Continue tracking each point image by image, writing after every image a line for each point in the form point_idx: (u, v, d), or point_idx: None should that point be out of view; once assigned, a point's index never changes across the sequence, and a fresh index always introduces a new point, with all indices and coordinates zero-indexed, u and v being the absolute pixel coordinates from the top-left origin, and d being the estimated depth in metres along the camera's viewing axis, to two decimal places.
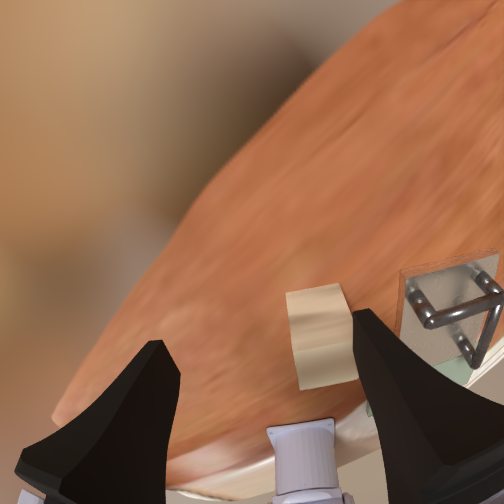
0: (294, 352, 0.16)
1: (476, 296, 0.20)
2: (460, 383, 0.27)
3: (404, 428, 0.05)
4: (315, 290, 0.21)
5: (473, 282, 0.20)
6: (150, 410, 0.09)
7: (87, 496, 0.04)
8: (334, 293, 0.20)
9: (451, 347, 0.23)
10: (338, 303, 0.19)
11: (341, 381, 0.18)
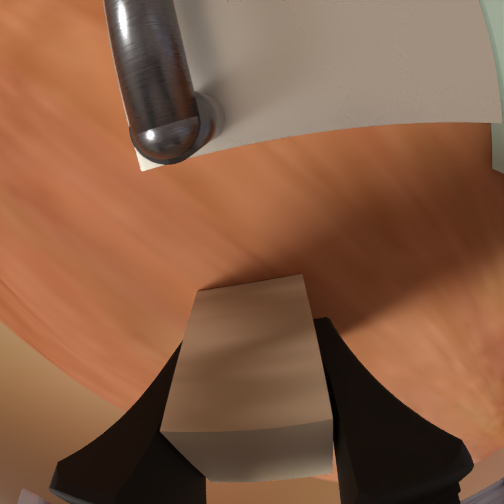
0: (212, 481, 0.08)
1: None
2: None
3: (341, 444, 0.05)
4: None
5: None
6: None
7: None
8: None
9: None
10: None
11: (326, 441, 0.06)
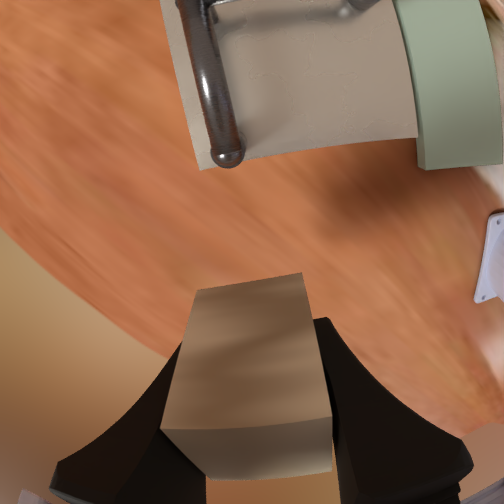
0: (212, 479, 0.08)
1: (243, 9, 0.11)
2: None
3: (341, 444, 0.05)
4: None
5: None
6: None
7: None
8: None
9: (366, 24, 0.11)
10: None
11: (326, 438, 0.06)
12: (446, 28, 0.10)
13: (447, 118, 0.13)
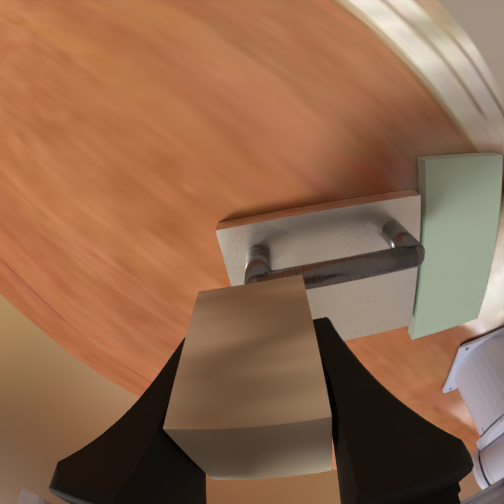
0: (213, 478, 0.08)
1: (293, 250, 0.17)
2: (494, 175, 0.14)
3: (342, 444, 0.05)
4: None
5: None
6: None
7: None
8: None
9: None
10: None
11: (325, 438, 0.06)
12: (460, 234, 0.16)
13: (437, 305, 0.19)
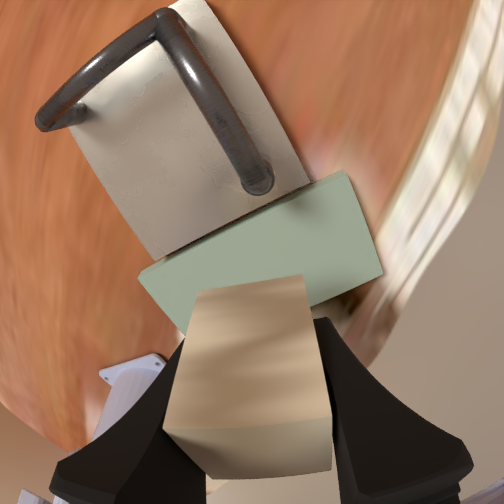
0: (213, 478, 0.08)
1: None
2: (360, 273, 0.18)
3: (341, 444, 0.05)
4: None
5: None
6: None
7: None
8: None
9: (231, 179, 0.15)
10: None
11: (325, 438, 0.06)
12: (284, 260, 0.17)
13: (191, 283, 0.18)
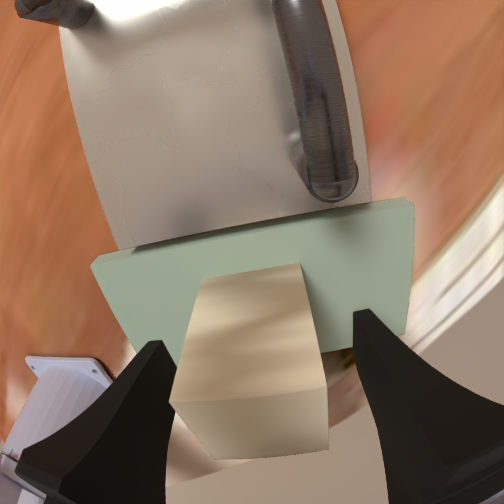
0: (215, 458, 0.09)
1: None
2: None
3: (404, 428, 0.05)
4: None
5: None
6: (150, 410, 0.09)
7: (87, 496, 0.04)
8: None
9: (267, 163, 0.10)
10: None
11: (322, 411, 0.07)
12: None
13: (161, 292, 0.12)
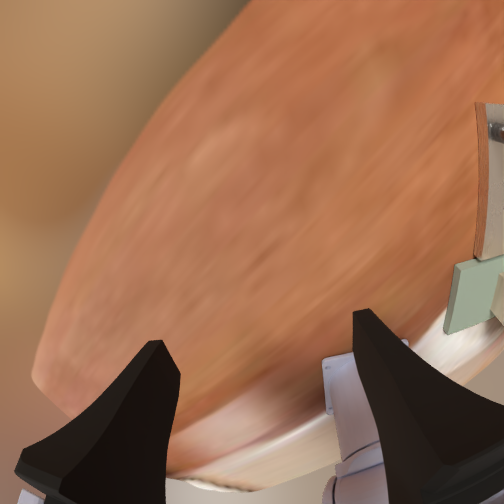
0: None
1: None
2: None
3: (404, 428, 0.05)
4: (497, 292, 0.19)
5: None
6: (150, 410, 0.09)
7: (87, 496, 0.04)
8: None
9: None
10: None
11: None
12: None
13: (483, 281, 0.19)
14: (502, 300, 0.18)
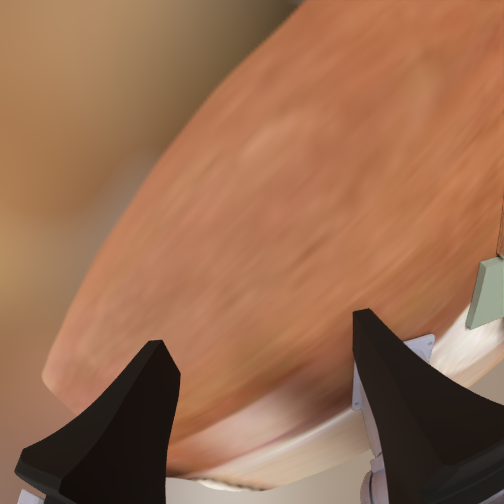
0: None
1: None
2: None
3: (404, 428, 0.05)
4: None
5: None
6: (150, 410, 0.09)
7: (87, 496, 0.04)
8: None
9: None
10: None
11: None
12: None
13: None
14: None
